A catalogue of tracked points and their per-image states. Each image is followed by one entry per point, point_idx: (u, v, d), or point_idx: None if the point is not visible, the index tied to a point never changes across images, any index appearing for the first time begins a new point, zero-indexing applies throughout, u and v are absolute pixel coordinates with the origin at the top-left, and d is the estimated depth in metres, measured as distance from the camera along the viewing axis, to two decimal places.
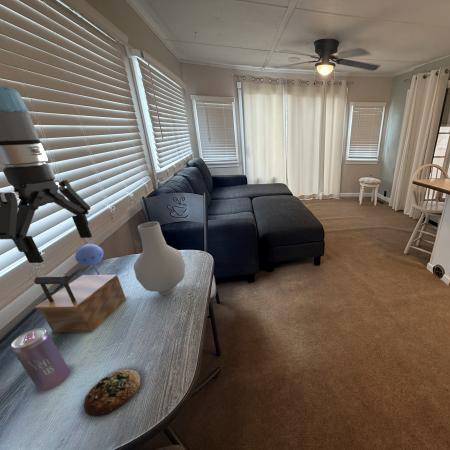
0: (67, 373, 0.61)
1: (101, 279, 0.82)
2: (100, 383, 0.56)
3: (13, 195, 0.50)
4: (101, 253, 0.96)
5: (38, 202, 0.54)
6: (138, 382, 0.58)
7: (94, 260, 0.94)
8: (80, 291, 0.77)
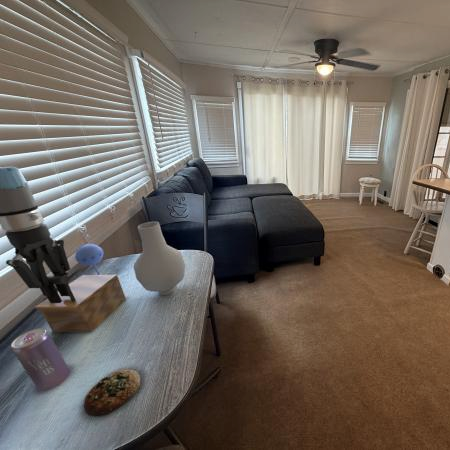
0: (67, 373, 0.61)
1: (101, 279, 0.82)
2: (100, 383, 0.56)
3: (19, 260, 0.61)
4: (101, 253, 0.96)
5: (40, 257, 0.65)
6: (138, 382, 0.58)
7: (94, 260, 0.94)
8: (80, 291, 0.77)
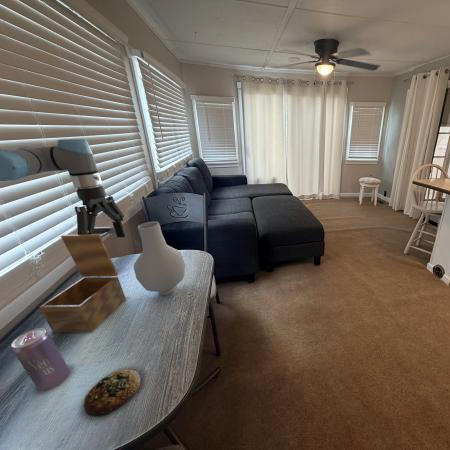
0: (67, 373, 0.61)
1: None
2: (100, 383, 0.56)
3: (84, 207, 0.79)
4: None
5: (97, 211, 0.83)
6: (138, 382, 0.58)
7: None
8: None
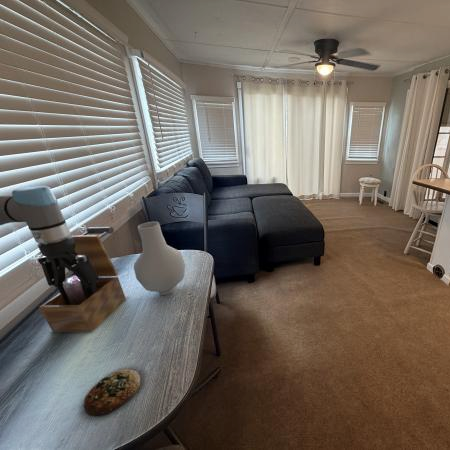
0: None
1: None
2: (100, 383, 0.56)
3: (40, 260, 0.72)
4: None
5: (55, 266, 0.72)
6: (138, 382, 0.58)
7: None
8: None
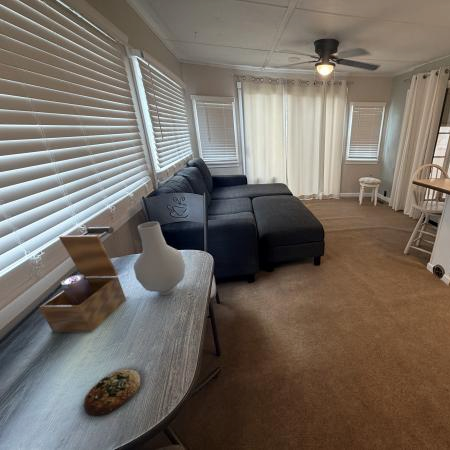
0: None
1: None
2: (100, 383, 0.56)
3: None
4: None
5: None
6: (138, 382, 0.58)
7: None
8: None
